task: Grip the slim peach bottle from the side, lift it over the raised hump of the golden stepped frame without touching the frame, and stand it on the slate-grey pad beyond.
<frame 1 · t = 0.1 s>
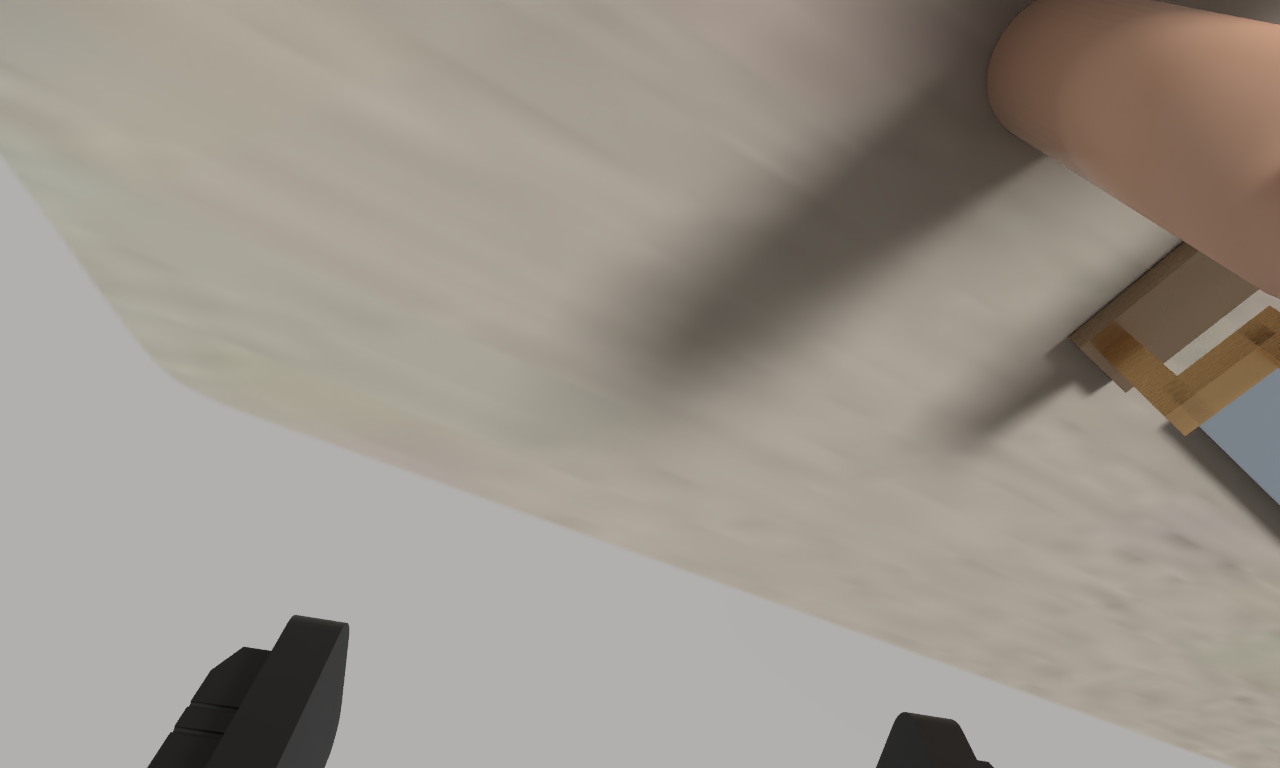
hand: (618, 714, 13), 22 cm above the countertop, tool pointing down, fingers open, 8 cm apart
golden stepped frame: (1275, 210, 32), on the countertop
peach bottle: (1062, 68, 29), on the countertop
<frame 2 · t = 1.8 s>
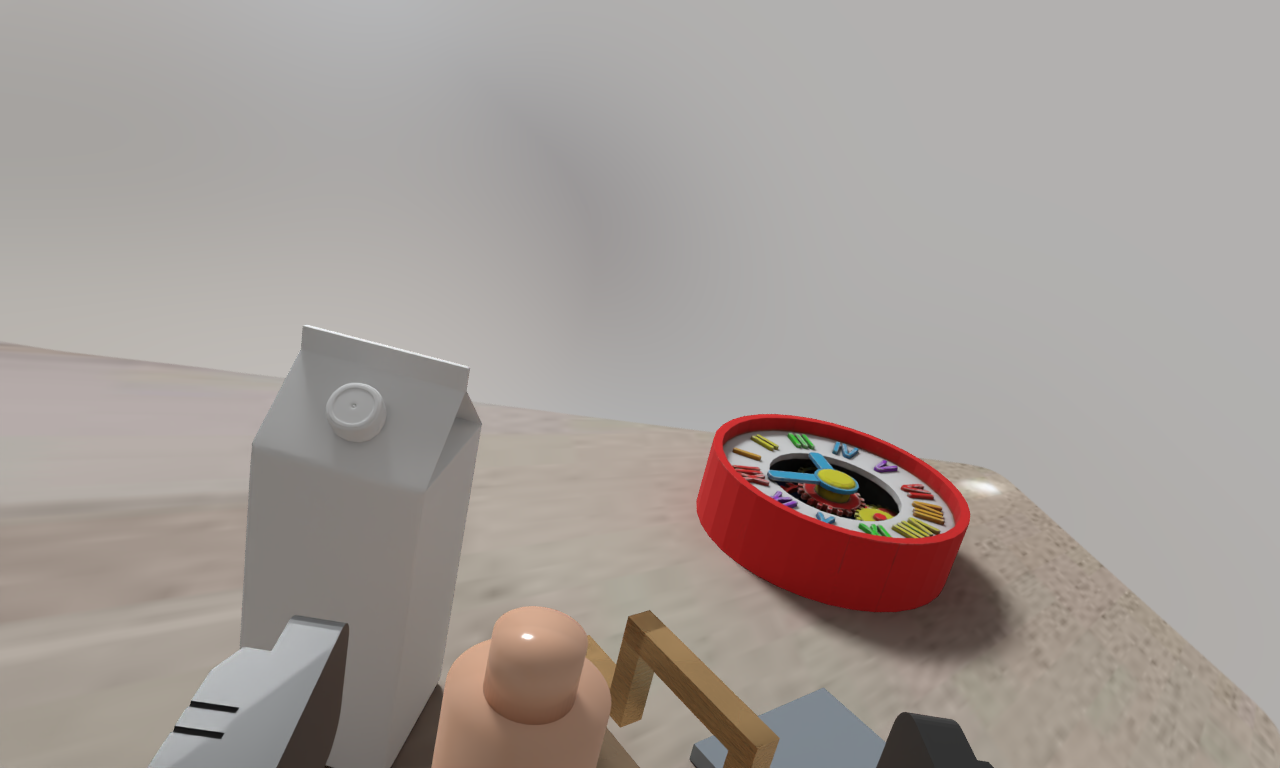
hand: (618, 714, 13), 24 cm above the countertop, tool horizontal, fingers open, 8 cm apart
toy clock: (817, 537, 69), on the countertop
milk carton: (343, 712, 42), on the countertop
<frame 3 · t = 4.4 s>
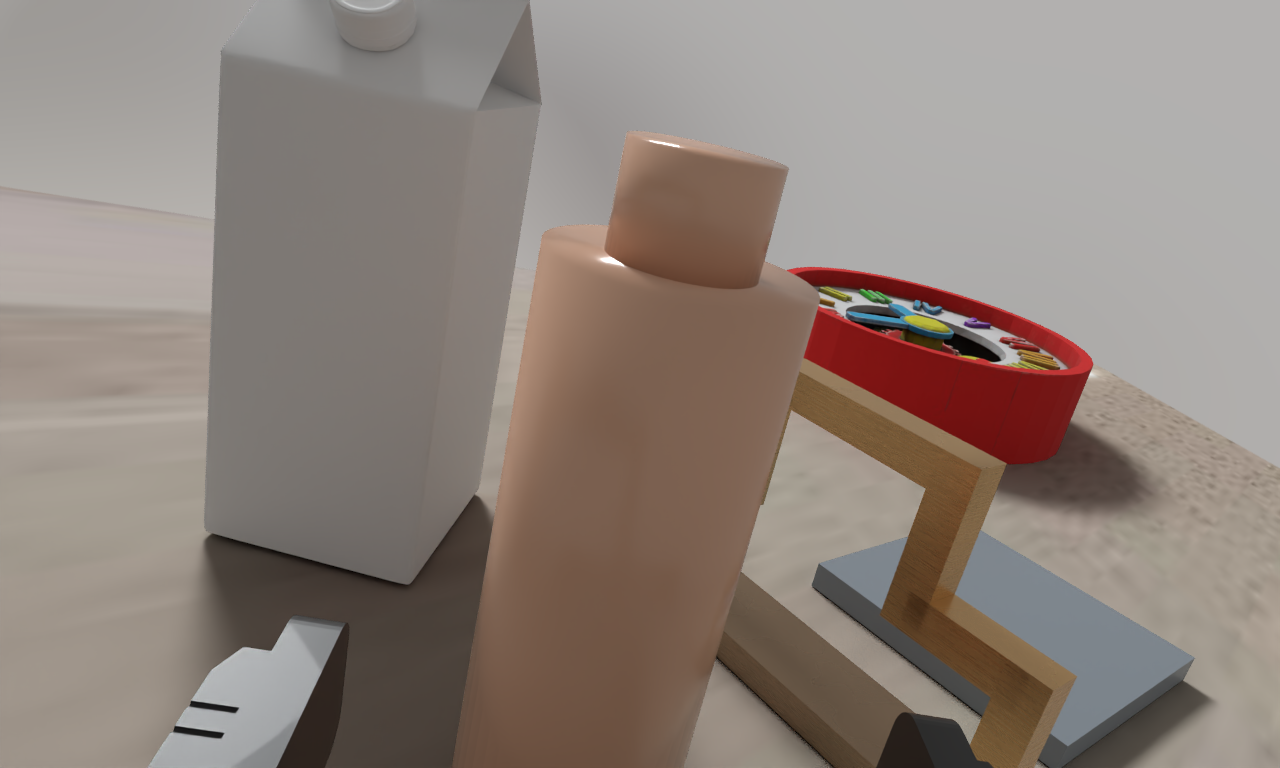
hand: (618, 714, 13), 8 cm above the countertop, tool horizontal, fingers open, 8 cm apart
toy clock: (901, 398, 59), on the countertop
milk carton: (353, 517, 31), on the countertop
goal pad: (995, 632, 33), on the countertop
golden stepped frame: (778, 670, 28), on the countertop
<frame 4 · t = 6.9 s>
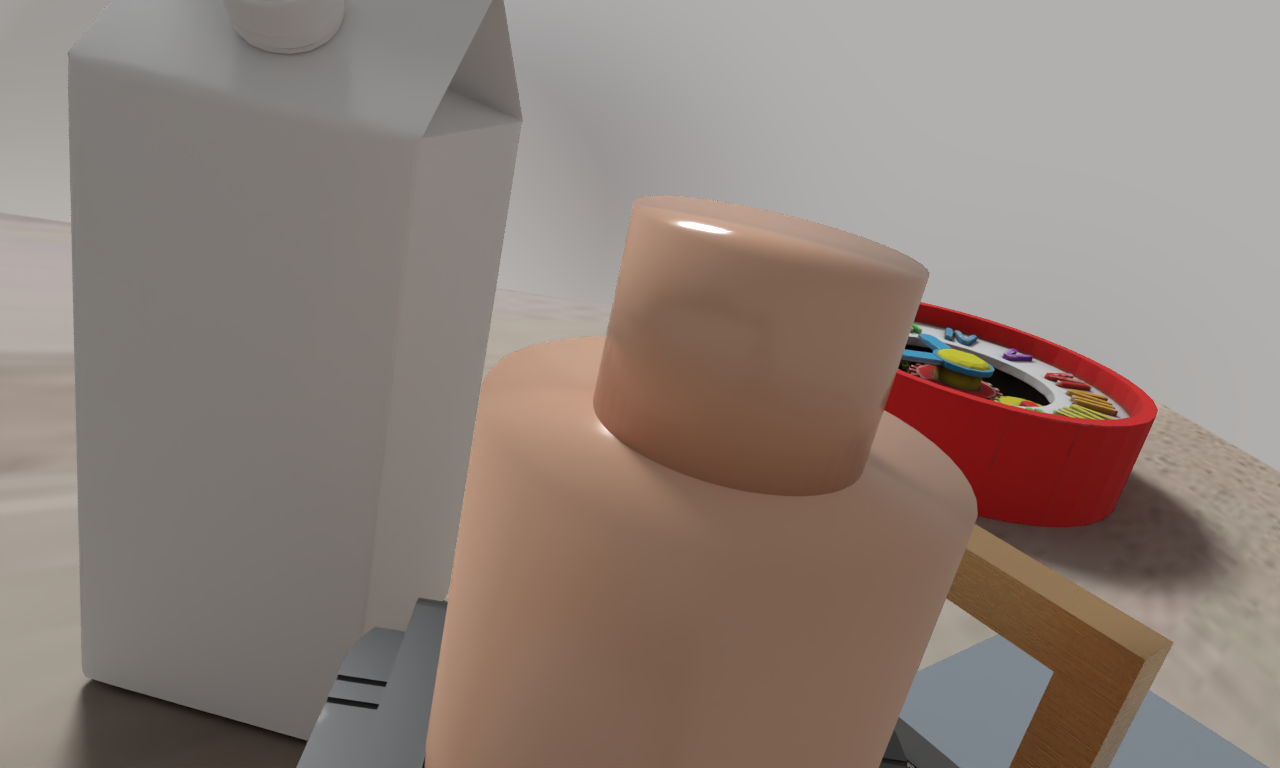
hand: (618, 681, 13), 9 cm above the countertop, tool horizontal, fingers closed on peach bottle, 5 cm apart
toy clock: (933, 442, 52), on the countertop
milk carton: (286, 640, 25), on the countertop
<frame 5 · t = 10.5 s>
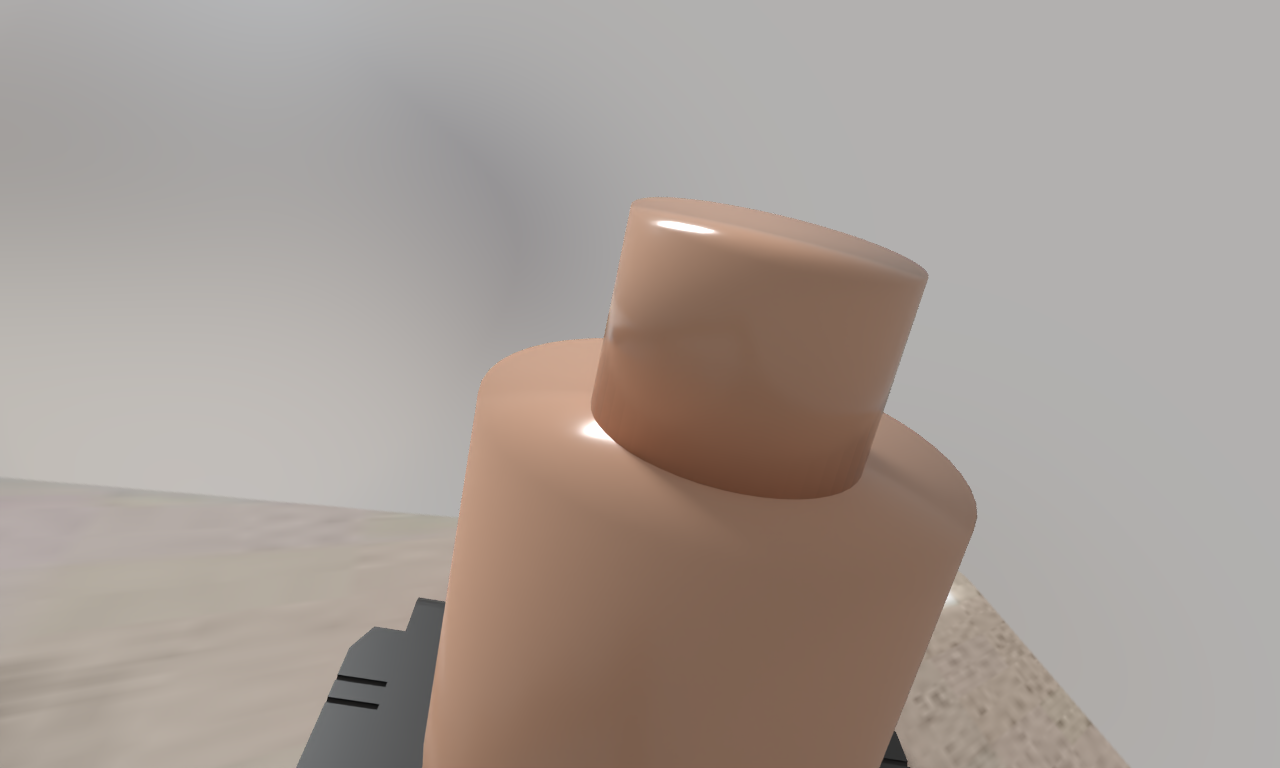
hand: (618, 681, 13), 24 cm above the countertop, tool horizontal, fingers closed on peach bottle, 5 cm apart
when the fingers open (11 cm above the countertop, at t = 14.4 s): peach bottle drops 1 cm, resting on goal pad.
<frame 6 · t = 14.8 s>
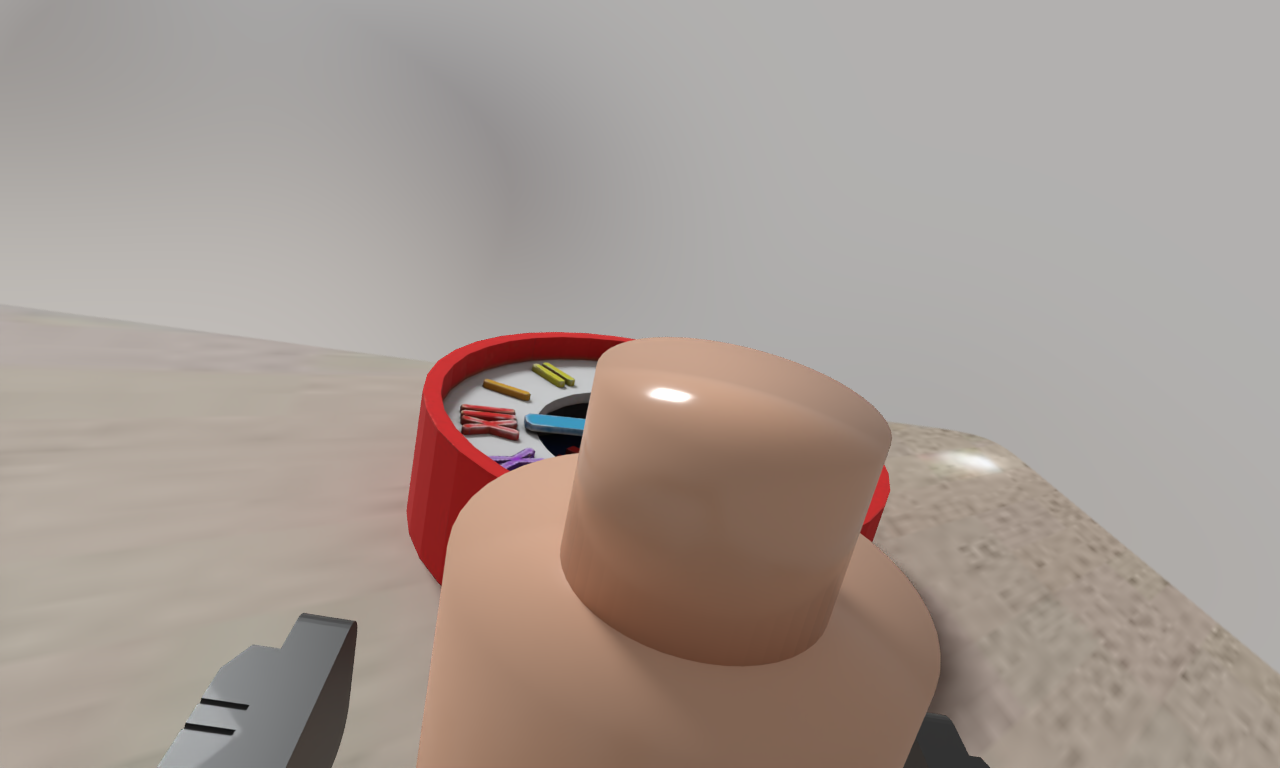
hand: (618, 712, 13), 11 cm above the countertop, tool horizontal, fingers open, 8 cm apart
toy clock: (631, 535, 40), on the countertop
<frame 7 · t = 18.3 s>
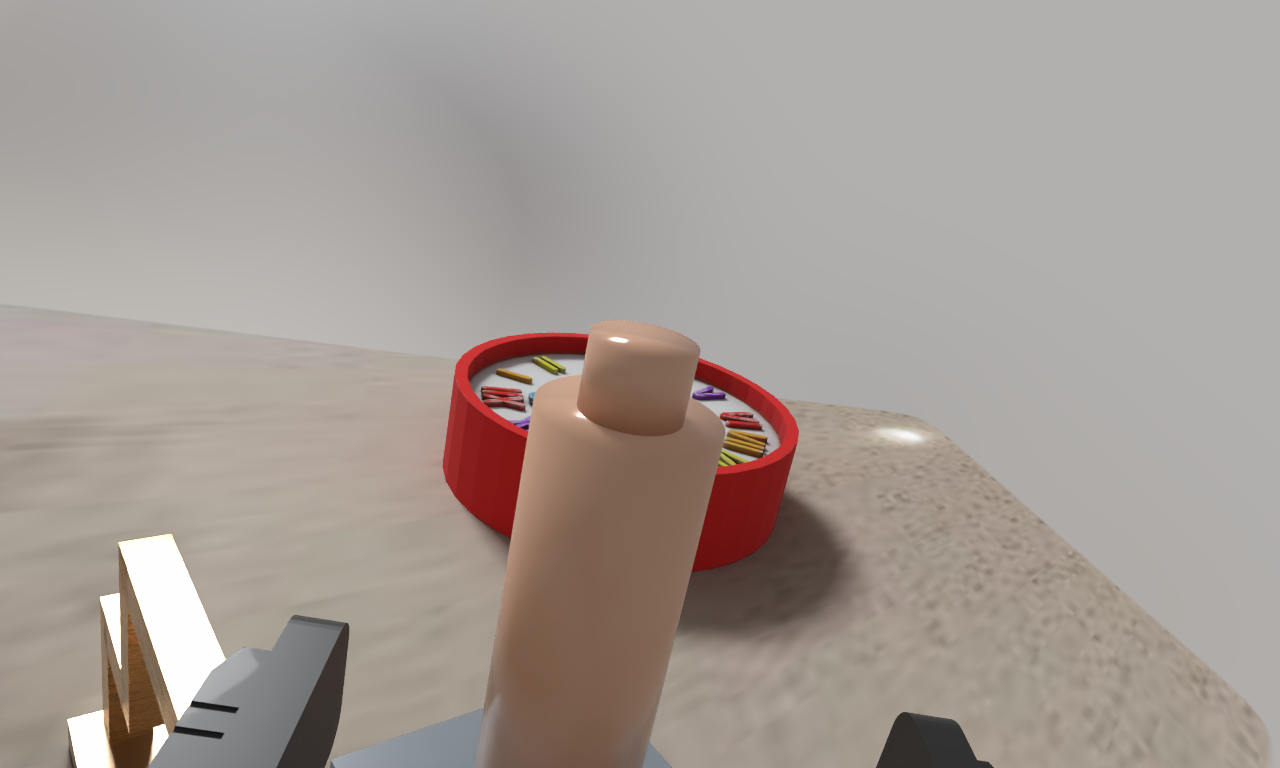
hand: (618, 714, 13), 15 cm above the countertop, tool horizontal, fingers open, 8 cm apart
toy clock: (610, 484, 53), on the countertop
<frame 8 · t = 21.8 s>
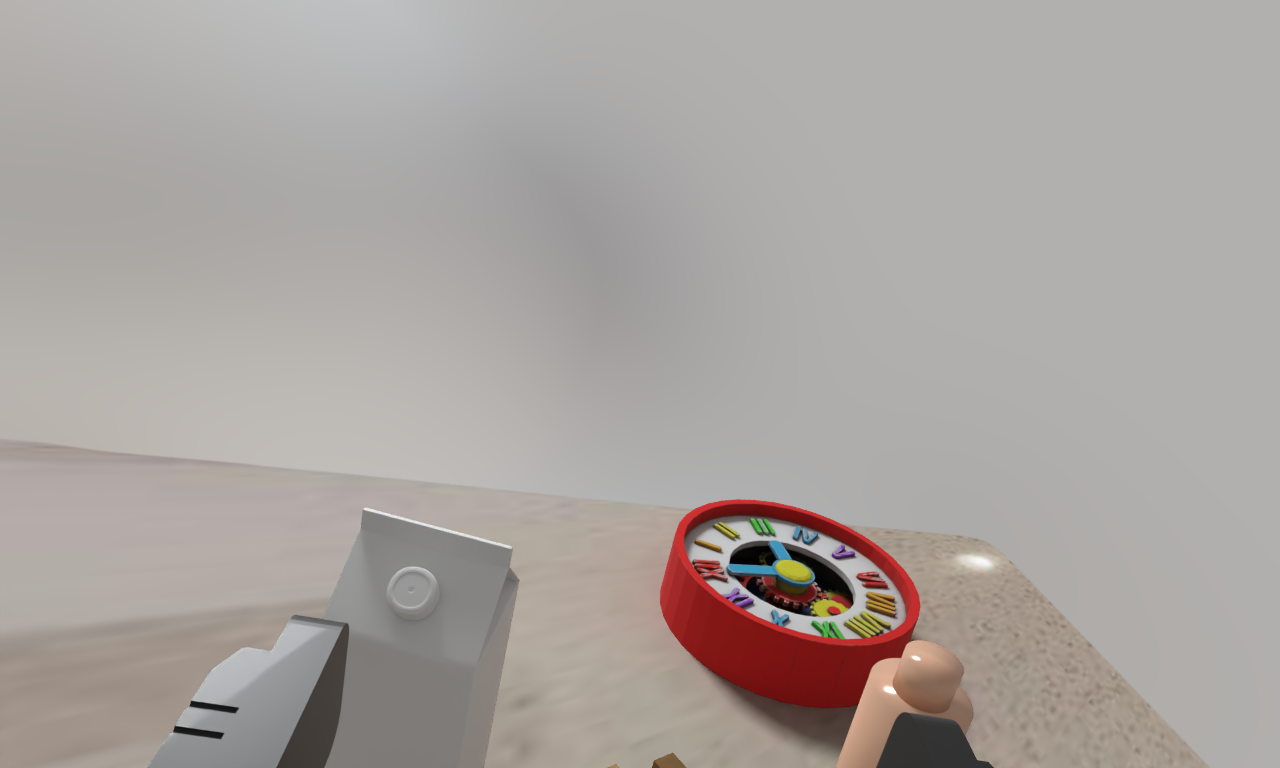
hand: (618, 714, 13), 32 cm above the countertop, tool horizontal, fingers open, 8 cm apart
toy clock: (776, 624, 72), on the countertop
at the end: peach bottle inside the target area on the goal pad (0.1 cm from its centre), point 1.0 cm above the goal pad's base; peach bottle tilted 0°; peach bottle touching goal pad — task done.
